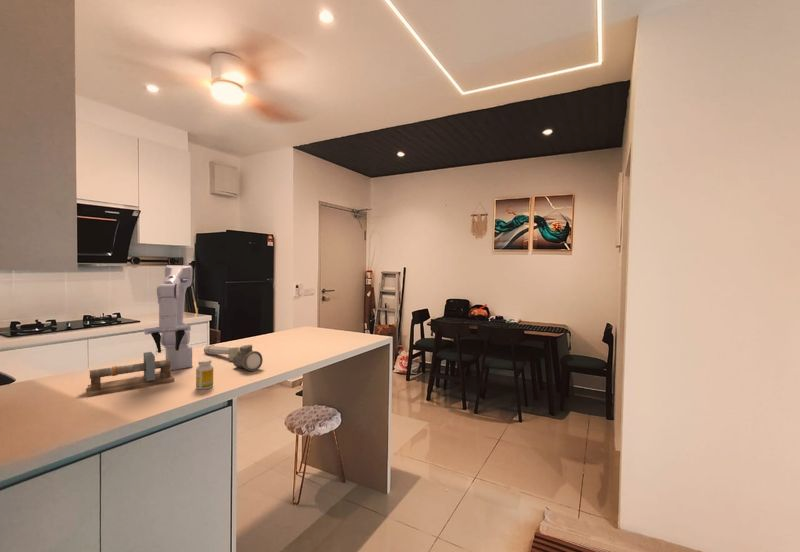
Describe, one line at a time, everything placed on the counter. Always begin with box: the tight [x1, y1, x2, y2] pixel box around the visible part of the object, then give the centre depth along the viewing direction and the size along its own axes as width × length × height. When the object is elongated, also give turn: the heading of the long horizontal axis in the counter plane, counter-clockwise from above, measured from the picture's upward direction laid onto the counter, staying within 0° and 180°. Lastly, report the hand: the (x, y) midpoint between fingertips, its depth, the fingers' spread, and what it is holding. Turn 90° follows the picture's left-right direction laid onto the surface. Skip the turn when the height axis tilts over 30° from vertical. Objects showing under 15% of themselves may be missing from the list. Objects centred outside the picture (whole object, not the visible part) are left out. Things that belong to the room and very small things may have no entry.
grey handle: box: [203, 344, 240, 362], centre depth 168 cm, size 5×7×25 cm
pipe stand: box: [87, 359, 175, 397], centre depth 128 cm, size 24×11×7 cm, turn 132°
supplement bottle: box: [195, 358, 214, 390], centre depth 127 cm, size 5×5×10 cm
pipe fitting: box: [232, 344, 263, 372], centre depth 150 cm, size 12×8×10 cm
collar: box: [143, 351, 156, 381], centre depth 132 cm, size 2×9×9 cm, turn 42°
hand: (168, 351), depth 135 cm, fingers open, 5 cm apart
